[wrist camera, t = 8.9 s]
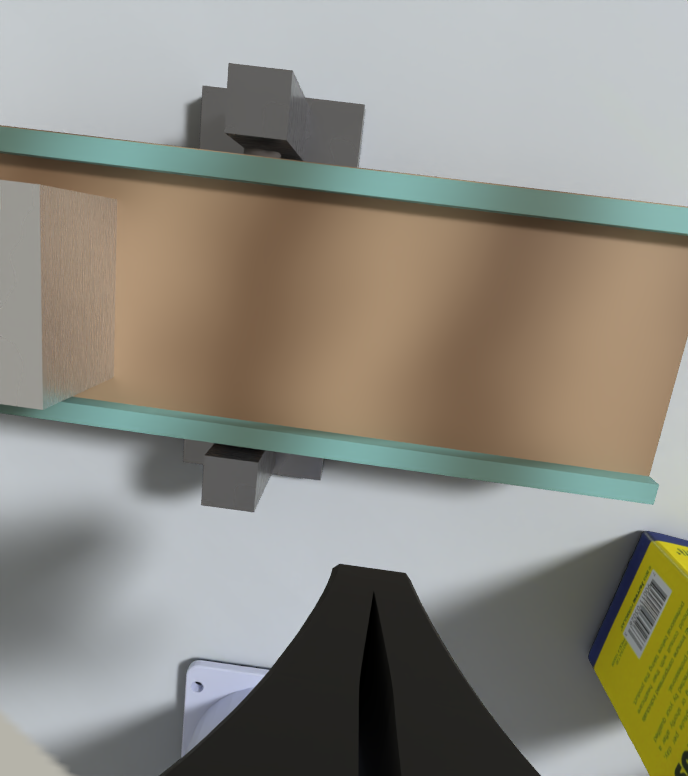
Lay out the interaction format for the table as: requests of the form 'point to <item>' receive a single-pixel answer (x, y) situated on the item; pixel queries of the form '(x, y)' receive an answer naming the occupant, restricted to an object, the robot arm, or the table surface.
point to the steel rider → (55, 293)
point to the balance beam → (380, 313)
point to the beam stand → (294, 142)
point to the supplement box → (650, 653)
